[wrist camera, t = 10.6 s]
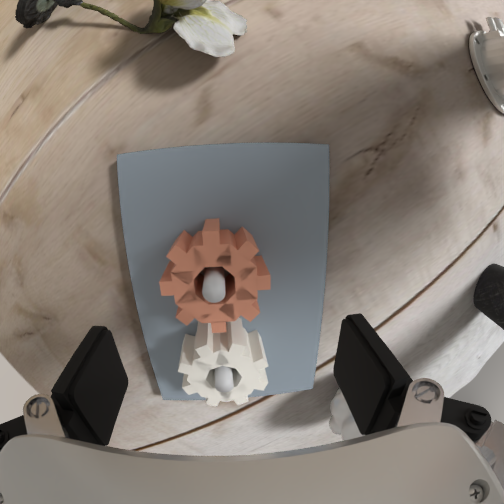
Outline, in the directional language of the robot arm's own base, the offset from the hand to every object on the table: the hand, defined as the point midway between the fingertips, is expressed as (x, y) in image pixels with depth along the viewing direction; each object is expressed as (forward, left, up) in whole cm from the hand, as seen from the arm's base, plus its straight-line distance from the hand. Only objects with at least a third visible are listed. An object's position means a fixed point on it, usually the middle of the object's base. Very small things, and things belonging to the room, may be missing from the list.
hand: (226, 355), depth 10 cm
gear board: (+3, 0, -13) cm, 14 cm away
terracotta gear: (0, -1, -12) cm, 12 cm away
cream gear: (+8, -1, -12) cm, 14 cm away
